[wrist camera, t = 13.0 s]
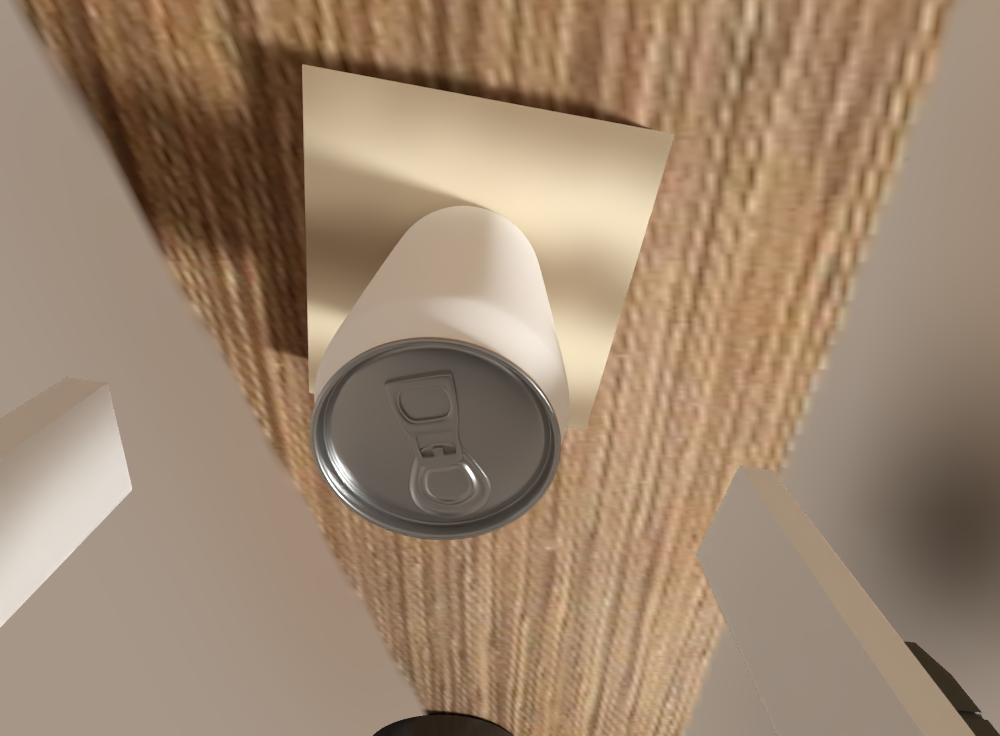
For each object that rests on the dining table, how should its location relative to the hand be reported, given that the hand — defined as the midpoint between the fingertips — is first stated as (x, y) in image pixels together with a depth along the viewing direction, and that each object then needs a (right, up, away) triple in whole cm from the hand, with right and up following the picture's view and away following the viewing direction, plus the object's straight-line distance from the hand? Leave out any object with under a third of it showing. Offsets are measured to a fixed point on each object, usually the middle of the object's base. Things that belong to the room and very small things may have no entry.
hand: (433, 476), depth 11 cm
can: (0, +6, +11) cm, 13 cm away
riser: (0, +8, +14) cm, 16 cm away
